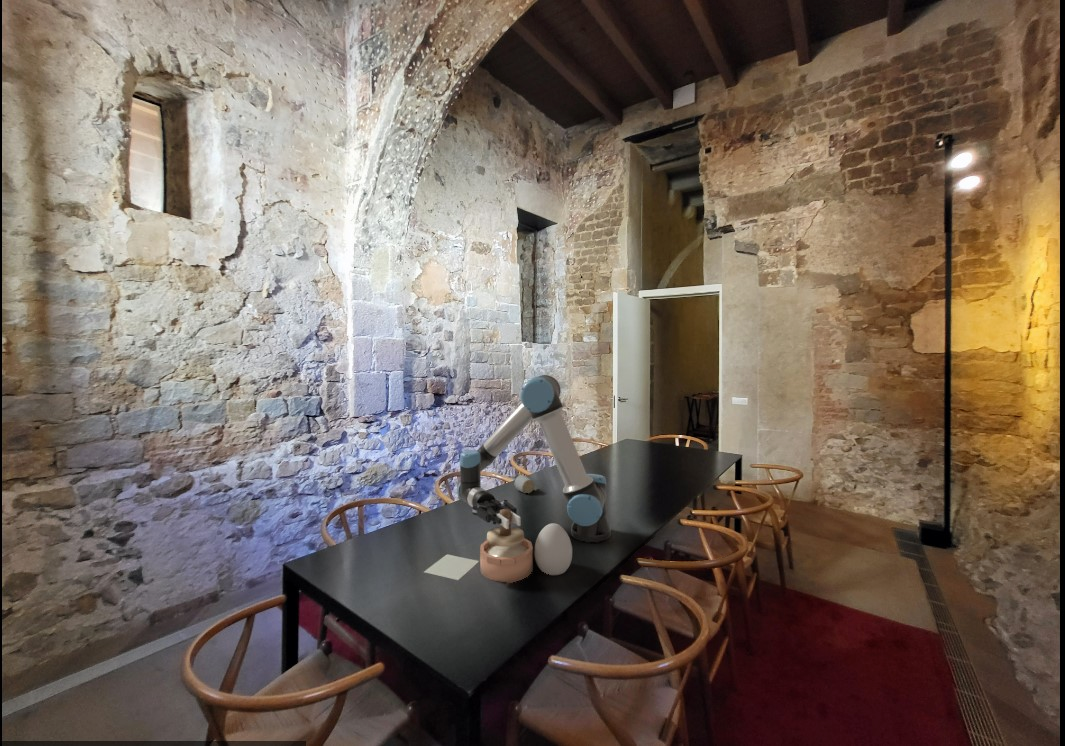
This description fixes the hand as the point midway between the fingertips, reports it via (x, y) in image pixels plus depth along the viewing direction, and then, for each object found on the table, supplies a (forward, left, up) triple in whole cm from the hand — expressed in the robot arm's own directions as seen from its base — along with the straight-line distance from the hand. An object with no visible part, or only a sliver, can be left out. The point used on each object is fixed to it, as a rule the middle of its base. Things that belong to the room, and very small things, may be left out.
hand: (513, 523), depth 138 cm
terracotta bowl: (+4, -3, -17) cm, 18 cm away
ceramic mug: (+30, -76, -18) cm, 84 cm away
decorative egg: (-10, -9, -17) cm, 22 cm away
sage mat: (+21, +3, -17) cm, 28 cm away
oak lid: (+5, -3, -7) cm, 9 cm away
